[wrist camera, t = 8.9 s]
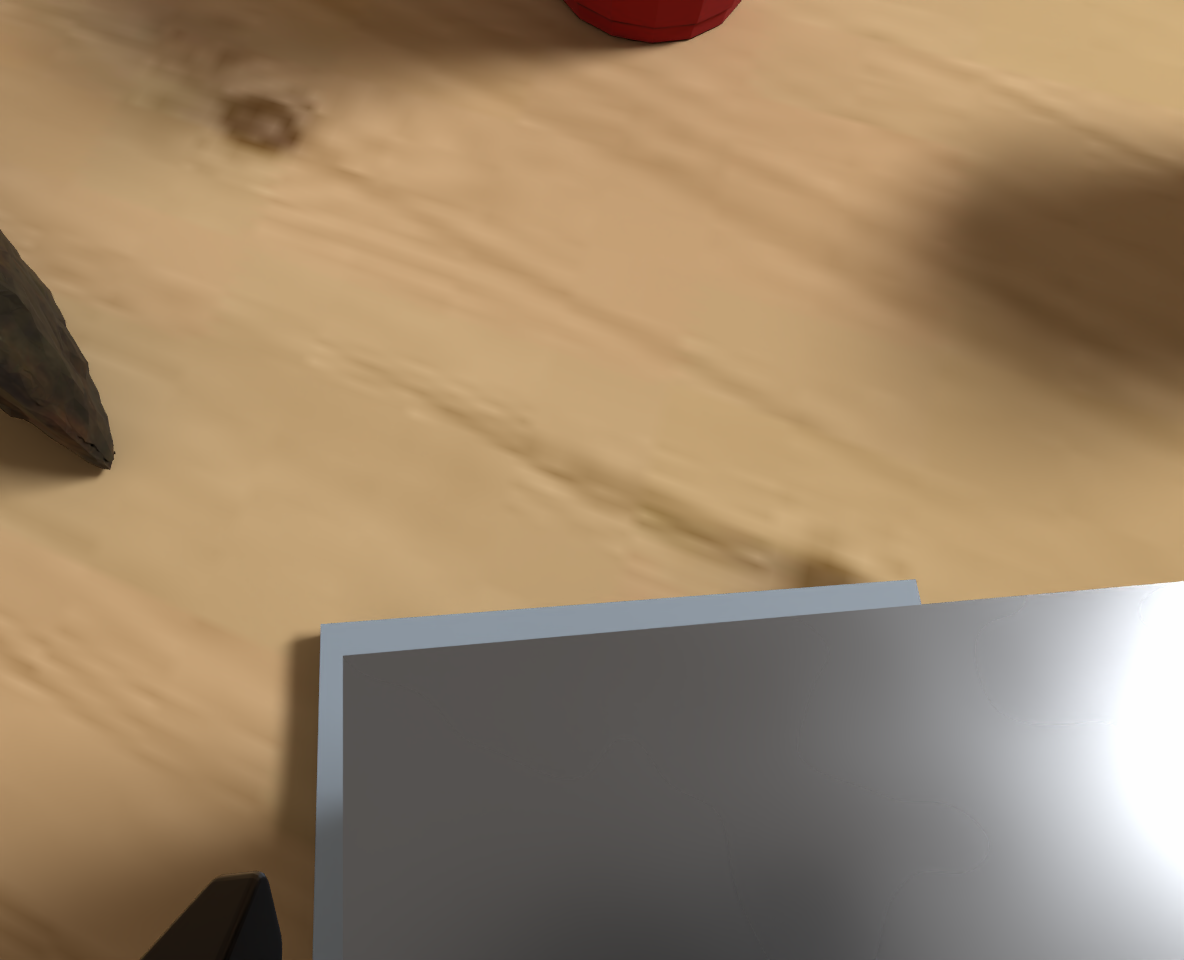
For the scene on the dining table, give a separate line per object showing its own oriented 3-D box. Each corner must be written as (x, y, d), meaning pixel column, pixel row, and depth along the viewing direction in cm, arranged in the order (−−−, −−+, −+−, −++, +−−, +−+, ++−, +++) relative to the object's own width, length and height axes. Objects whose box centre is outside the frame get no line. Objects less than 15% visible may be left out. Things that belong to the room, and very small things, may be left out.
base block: (1040, 1281, 15) (1225, 1442, 11) (324, 1383, 14) (235, 1601, 10) (889, 598, 20) (981, 531, 16) (337, 640, 19) (278, 581, 15)
